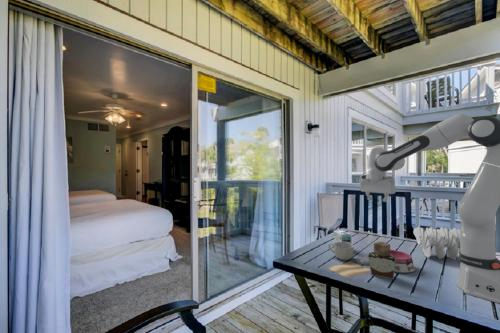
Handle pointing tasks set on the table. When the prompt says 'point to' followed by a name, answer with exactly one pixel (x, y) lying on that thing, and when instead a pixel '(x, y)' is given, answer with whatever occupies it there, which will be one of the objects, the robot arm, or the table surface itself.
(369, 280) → the table surface
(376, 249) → the walnut block
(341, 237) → the light bulb box
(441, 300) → the table surface
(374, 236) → the table surface
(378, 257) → the food container
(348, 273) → the oak board
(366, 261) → the grey rounded dome
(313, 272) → the table surface
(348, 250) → the teacup
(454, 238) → the spiral staircase
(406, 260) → the dog bowl
